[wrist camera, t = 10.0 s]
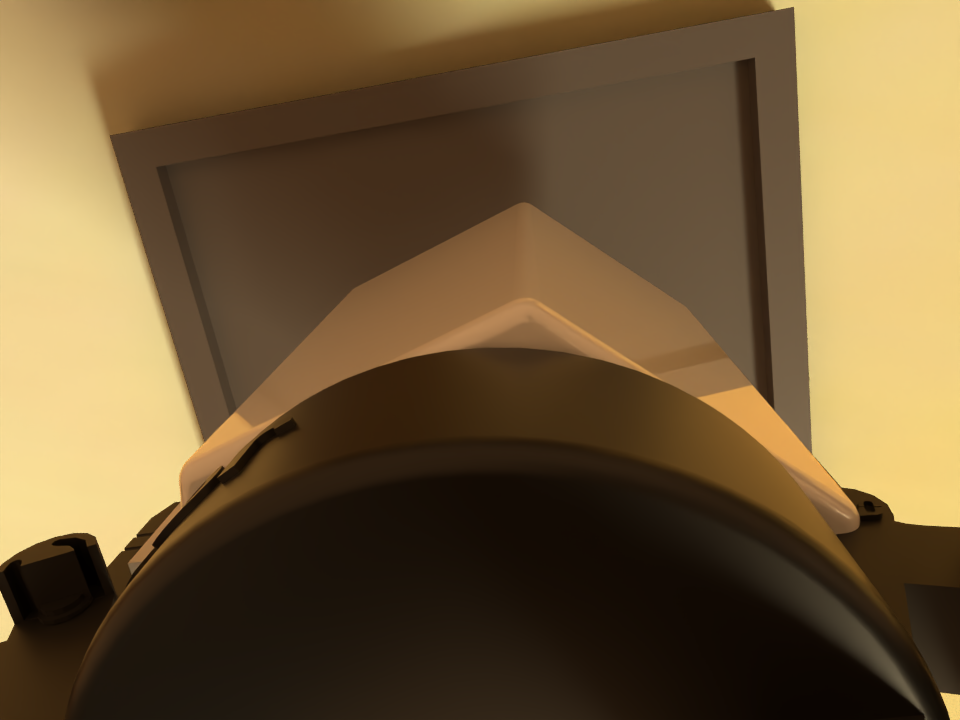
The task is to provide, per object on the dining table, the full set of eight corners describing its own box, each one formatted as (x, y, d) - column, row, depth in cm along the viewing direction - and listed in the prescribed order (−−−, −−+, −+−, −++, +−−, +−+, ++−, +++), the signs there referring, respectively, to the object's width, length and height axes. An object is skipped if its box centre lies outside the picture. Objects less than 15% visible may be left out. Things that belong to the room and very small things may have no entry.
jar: (340, 191, 17) (-43, 357, 5) (708, 210, 16) (1124, 427, 5) (345, 540, 20) (100, 1132, 8) (659, 561, 19) (856, 1207, 8)
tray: (777, 13, 20) (794, 7, 18) (800, 515, 24) (815, 534, 23) (131, 134, 21) (109, 135, 20) (266, 581, 26) (254, 603, 25)
